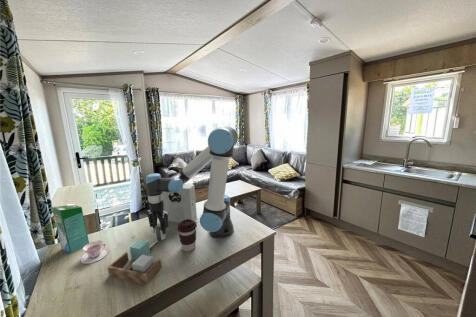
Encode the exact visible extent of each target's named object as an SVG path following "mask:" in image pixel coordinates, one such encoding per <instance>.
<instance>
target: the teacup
mask: <svg viewBox="0 0 476 317" xmlns="http://www.w3.org/2000/svg"><path fill="white" fill-rule="evenodd" d="M82 250H83V251H84V252H85V253H84V254H83V255H82V256H81V257H80V263H81V264H84V265H87V264H88V265H89V264H93V263H96V262H99V261H100V260H103V259H104V258H105V257H107V256H108V254H109V253H110V249H109V248H108V247H106V243H104V241H102V240H96V241H92V242H89V244H87V245H85V246H84V247H82Z"/></svg>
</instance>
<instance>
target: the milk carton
mask: <svg viewBox="0 0 476 317" xmlns="http://www.w3.org/2000/svg"><path fill="white" fill-rule="evenodd" d="M51 210H52V215H53V219H54V224H55V228H56V230H57V235H58V236H57V237H58V239H59V244H60V247H61V250H62V249H63V251H64V250H65V251H64V252H66V251H67V252H66V253H68V252H69V254H70V253H71V254H72V252H73V253H74V252H76V251H78V250H80V249H83V247H84V246H85V245H87V244H89V243H90V241H89V236H88V231H87V227H86V222H85V216H84V212H83V207H82V206H79V205H76V203H67V204H65V205H59V206H51Z"/></svg>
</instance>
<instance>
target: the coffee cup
mask: <svg viewBox="0 0 476 317" xmlns="http://www.w3.org/2000/svg"><path fill="white" fill-rule="evenodd" d="M178 223H179V224H177V231H178V235H179V242H180V244H181V245H180V246H181V249H182V251H184V252H191V251H193V250H194V249H195V248H196V245H197V244H196V242H197V241H196V240H197V224H198V223H197V222H196V220H195V221H193V220H191V219H186V220H183V221H181V222H178Z"/></svg>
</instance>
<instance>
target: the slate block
mask: <svg viewBox="0 0 476 317" xmlns="http://www.w3.org/2000/svg"><path fill="white" fill-rule="evenodd" d="M154 263H155V262H154V257H153V256H151V255H148V256H147V255H141V256H140V257H139V258H138V259H137V260H133V262H132V263H131V265H132V268H133V271H136V272H140V273H146V272H147V271H148V269H149V268H150V267H151V266H152V265H153V264H154Z"/></svg>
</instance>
